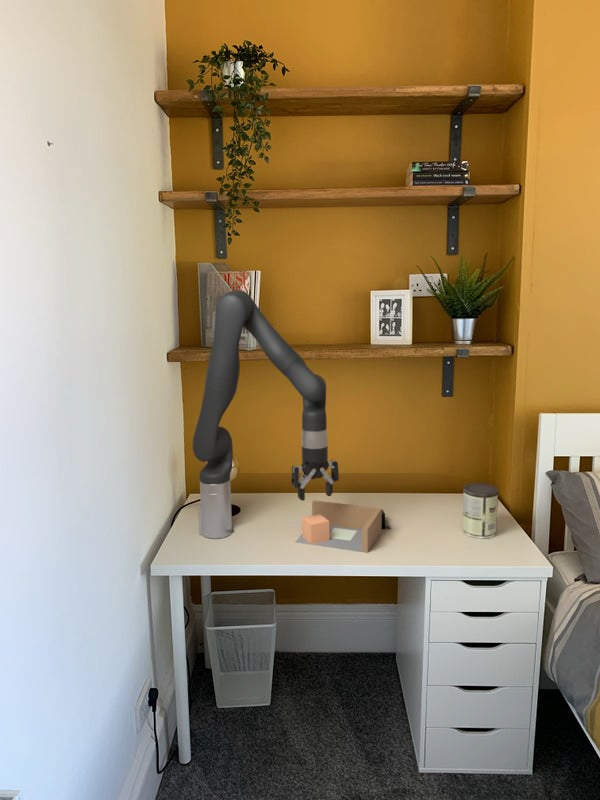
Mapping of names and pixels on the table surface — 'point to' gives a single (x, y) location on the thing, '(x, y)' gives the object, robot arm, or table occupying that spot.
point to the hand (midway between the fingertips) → (315, 497)
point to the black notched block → (384, 522)
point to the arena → (348, 525)
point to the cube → (315, 529)
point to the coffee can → (480, 510)
